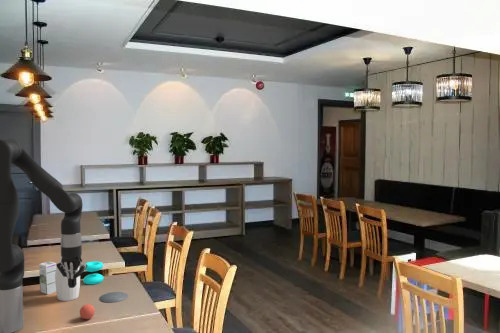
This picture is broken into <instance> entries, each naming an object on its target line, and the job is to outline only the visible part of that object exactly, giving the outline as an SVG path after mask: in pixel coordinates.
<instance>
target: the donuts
mask: <svg viewBox="0 0 500 333" xmlns="http://www.w3.org/2000/svg"><path fill="white" fill-rule="evenodd" d="M84 264H87V268H86V269H85V270H84V272H89V274H87V275H86V276H84V277H83V283H84V284H86V285H97V284H100V283H102V282H103V281H104V275H102V274H100V273H93V272H97V271H100V270H102V269H103V268H104V263H103V262H102V261H97V260H95V261H88V262H86V263H84Z"/></svg>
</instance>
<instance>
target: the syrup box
mask: <svg viewBox="0 0 500 333" xmlns="http://www.w3.org/2000/svg"><path fill="white" fill-rule="evenodd" d="M56 264H57V263H56V262H53V261H50V260H49V261H44V262H42V263H39V264H38V266H39V268H38V269H39V270H38V271H39V292H40V293H41V294H45V295H51V294H54V293H57V292H56V284H55V272H56V268H57V266H56Z"/></svg>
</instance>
